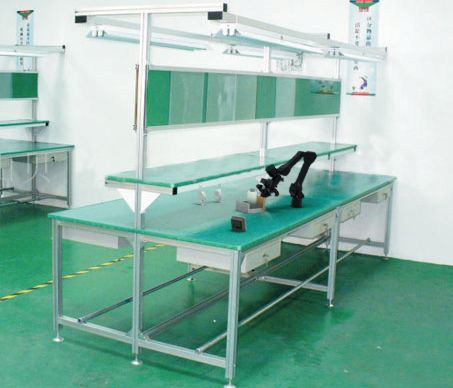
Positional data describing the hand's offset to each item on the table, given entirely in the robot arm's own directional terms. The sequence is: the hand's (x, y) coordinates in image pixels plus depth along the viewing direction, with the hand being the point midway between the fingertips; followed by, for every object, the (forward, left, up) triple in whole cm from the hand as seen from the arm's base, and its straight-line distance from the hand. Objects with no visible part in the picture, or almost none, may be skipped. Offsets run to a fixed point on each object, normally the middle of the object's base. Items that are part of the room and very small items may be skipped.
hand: (259, 199), depth 421 cm
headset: (+24, -26, -7) cm, 36 cm away
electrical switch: (+37, +50, -7) cm, 63 cm away
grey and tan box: (+6, +1, -7) cm, 9 cm away
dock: (+7, +2, -7) cm, 10 cm away
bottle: (+6, +1, -5) cm, 8 cm away
